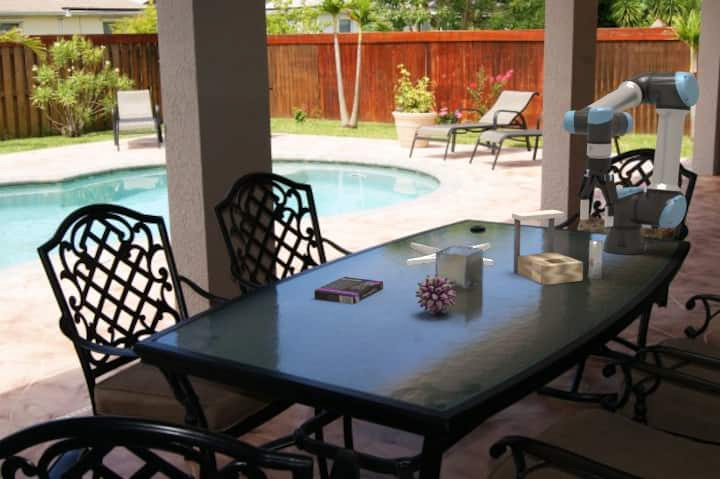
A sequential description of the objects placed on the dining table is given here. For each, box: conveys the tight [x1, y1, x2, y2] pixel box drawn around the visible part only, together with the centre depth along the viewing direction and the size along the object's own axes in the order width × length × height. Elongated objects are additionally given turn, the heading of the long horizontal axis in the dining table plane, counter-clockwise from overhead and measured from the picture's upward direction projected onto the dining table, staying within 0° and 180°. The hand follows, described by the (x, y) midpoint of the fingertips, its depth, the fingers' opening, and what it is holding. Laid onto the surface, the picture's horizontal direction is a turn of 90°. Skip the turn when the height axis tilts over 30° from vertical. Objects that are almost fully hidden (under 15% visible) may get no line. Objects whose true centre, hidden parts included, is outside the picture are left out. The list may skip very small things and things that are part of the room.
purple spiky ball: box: [415, 272, 458, 315], centre depth 263 cm, size 12×12×12 cm
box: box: [314, 276, 384, 305], centre depth 287 cm, size 14×4×20 cm
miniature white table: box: [511, 209, 565, 274], centre depth 309 cm, size 16×6×20 cm, turn 110°
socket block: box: [517, 251, 584, 286], centre depth 303 cm, size 14×17×6 cm
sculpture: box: [406, 242, 494, 267], centre depth 337 cm, size 30×3×30 cm
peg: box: [588, 239, 603, 280], centre depth 301 cm, size 4×4×12 cm
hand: (596, 222), depth 299 cm, fingers open, 13 cm apart
